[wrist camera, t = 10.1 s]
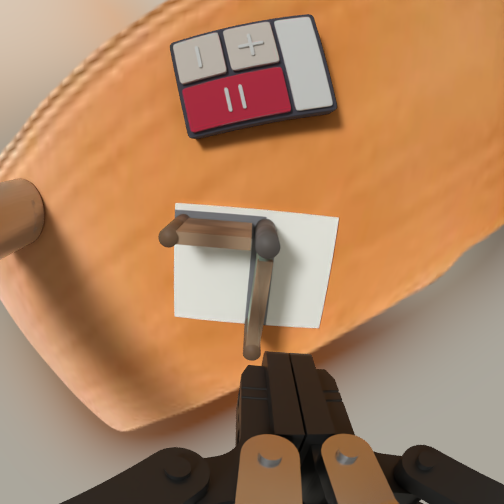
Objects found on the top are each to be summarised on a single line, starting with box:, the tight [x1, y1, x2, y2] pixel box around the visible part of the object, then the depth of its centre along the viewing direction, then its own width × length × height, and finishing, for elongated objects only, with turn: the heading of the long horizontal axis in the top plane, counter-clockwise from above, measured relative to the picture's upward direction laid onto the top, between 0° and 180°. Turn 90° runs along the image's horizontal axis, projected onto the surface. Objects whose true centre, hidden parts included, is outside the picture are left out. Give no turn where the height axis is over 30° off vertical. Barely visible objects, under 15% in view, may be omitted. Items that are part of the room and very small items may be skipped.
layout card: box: [174, 203, 339, 328], centre depth 36 cm, size 18×14×1 cm
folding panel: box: [243, 254, 273, 360], centre depth 33 cm, size 11×2×6 cm, turn 173°
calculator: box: [170, 14, 337, 139], centre depth 28 cm, size 11×4×15 cm
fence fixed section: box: [159, 214, 280, 259], centre depth 31 cm, size 11×2×7 cm, turn 85°
